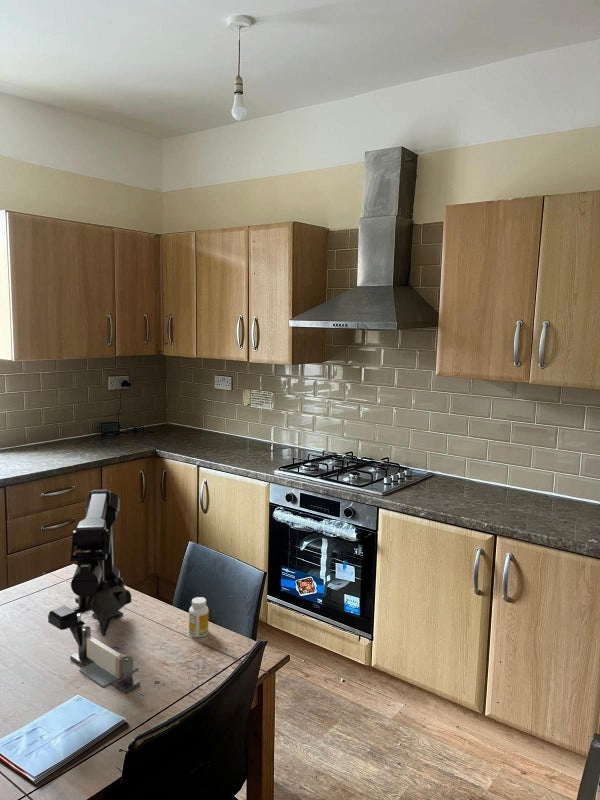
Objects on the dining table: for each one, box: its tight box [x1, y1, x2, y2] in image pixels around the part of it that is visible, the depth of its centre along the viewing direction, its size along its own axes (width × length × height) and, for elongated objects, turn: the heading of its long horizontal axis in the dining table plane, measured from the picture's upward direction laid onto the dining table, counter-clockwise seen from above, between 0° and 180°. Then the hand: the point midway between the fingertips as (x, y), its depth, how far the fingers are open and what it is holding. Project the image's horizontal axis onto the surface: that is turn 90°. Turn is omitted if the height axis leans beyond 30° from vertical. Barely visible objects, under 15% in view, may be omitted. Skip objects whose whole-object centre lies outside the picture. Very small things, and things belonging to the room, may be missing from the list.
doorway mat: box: [79, 662, 139, 688], centre depth 149 cm, size 10×10×1 cm
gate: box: [87, 636, 126, 680], centre depth 148 cm, size 14×2×5 cm, turn 52°
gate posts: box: [69, 625, 141, 694], centre depth 148 cm, size 22×5×8 cm, turn 52°
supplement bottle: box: [188, 596, 210, 638], centre depth 168 cm, size 5×5×10 cm
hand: (91, 640), depth 142 cm, fingers open, 6 cm apart
